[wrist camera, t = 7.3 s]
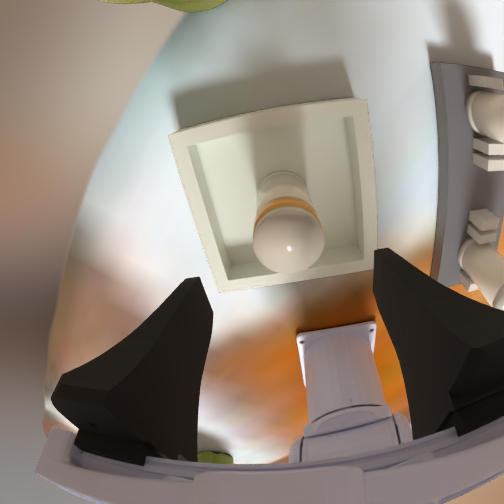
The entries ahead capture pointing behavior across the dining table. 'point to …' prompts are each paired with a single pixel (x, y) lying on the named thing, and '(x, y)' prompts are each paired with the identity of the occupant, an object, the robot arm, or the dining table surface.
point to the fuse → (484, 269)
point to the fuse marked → (286, 224)
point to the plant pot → (177, 4)
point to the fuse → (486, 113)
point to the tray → (273, 159)
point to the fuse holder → (465, 171)
